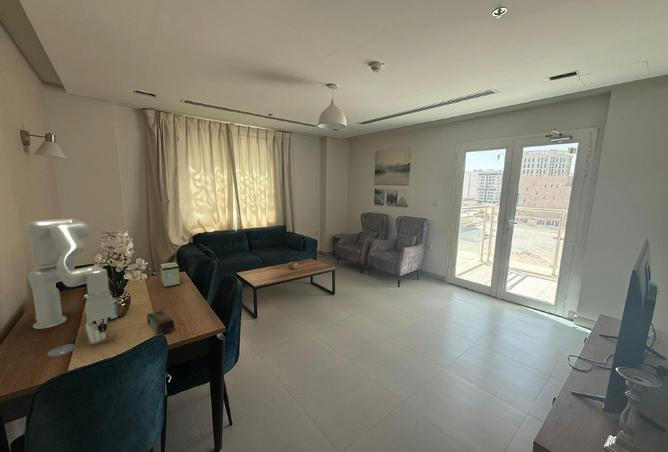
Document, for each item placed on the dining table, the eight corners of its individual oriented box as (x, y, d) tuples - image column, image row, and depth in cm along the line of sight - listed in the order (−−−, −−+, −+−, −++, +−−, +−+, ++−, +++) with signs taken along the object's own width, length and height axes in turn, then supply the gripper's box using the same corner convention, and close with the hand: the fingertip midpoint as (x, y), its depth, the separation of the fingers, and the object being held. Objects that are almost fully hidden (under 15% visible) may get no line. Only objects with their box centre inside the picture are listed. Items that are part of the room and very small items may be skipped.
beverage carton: (163, 319, 155) (162, 308, 154) (175, 331, 142) (174, 319, 141) (147, 324, 149) (146, 312, 148) (157, 337, 136) (157, 325, 135)
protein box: (176, 280, 218) (175, 261, 216) (180, 285, 207) (179, 266, 205) (161, 282, 212) (159, 263, 210) (164, 288, 200) (163, 268, 198)
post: (82, 343, 128) (80, 329, 127) (101, 334, 137) (99, 321, 136) (95, 346, 126) (93, 332, 125) (113, 337, 135) (112, 324, 134)
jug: (104, 333, 135) (100, 317, 133) (108, 341, 129) (103, 324, 127) (89, 339, 131) (84, 323, 129) (91, 347, 125) (86, 330, 123)
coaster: (42, 355, 119) (42, 353, 119) (66, 344, 128) (66, 342, 128) (56, 359, 117) (56, 357, 117) (80, 347, 126) (80, 346, 126)
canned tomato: (97, 324, 147) (95, 305, 145) (105, 317, 154) (103, 299, 153) (114, 322, 149) (112, 303, 148) (121, 316, 157) (119, 298, 155)
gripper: (76, 301, 118) (81, 340, 121) (119, 293, 128) (123, 329, 131) (77, 296, 124) (82, 333, 126) (118, 289, 134) (122, 323, 136)
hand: (103, 331), depth 129 cm, fingers closed
